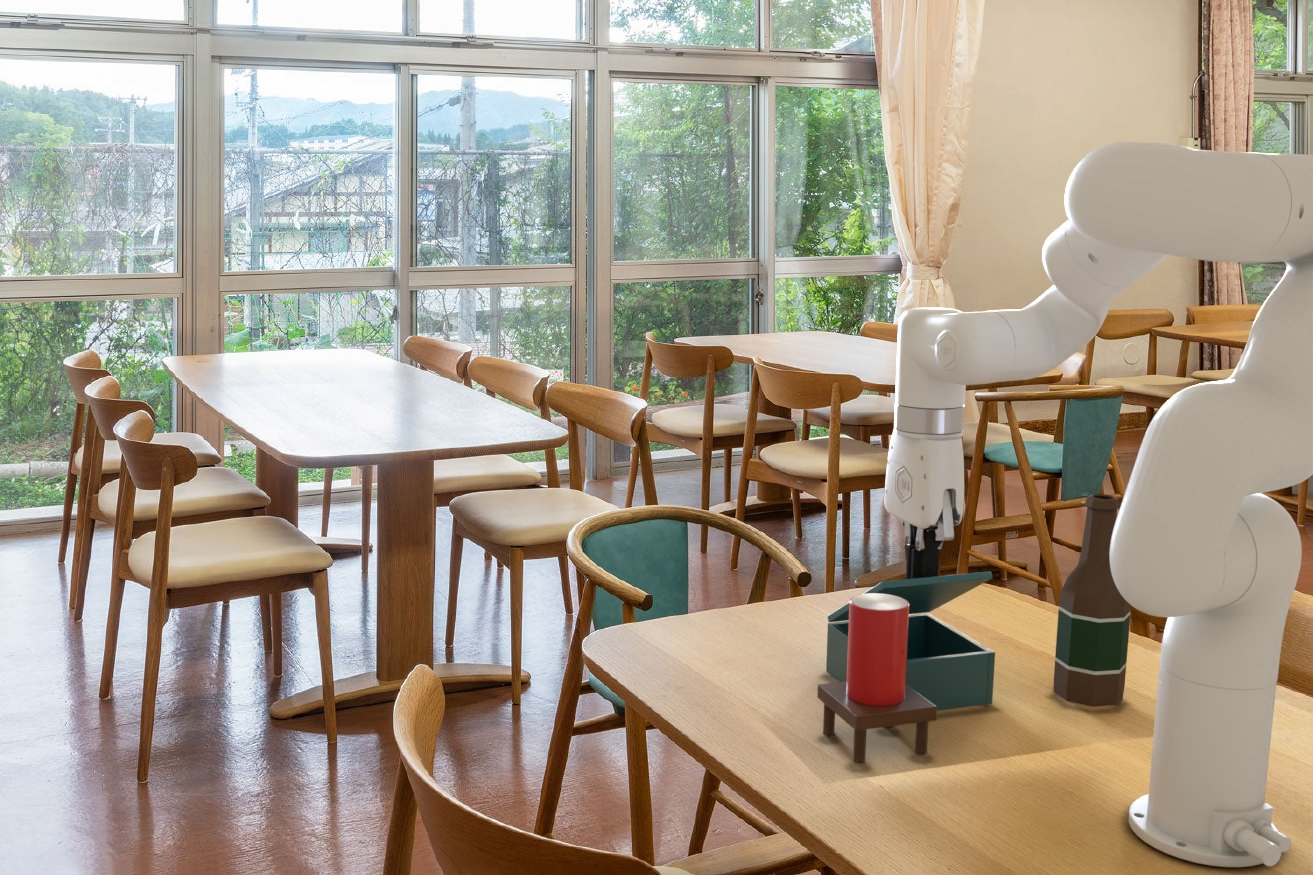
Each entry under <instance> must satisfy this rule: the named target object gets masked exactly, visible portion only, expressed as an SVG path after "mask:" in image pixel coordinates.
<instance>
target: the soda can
mask: <svg viewBox="0 0 1313 875" xmlns="http://www.w3.org/2000/svg"><path fill="white" fill-rule="evenodd" d="M848 603H849V620H848V621H849V628H848V654H847V681H846V694H847V696H848V697H849V698H850V699H852V700H854V701H856V702H859V703H862V704H866V705H873V706H888V705H894V704H898V703H900V702H902V701H903V700H904V698H905V685H906V664H907V643H908V621H909V615H910V614H909V602H908V601H907V600H905V599H903V598H901V597H898V596H894V595H889V594H880V593H868V594H863V593H861V594H857V595H854V596H852V597H850V598H849V602H848Z"/></svg>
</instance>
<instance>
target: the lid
mask: <svg viewBox="0 0 1313 875" xmlns="http://www.w3.org/2000/svg"><path fill="white" fill-rule="evenodd" d="M992 579H993V574H992V571H983V572H982V571H981V572H970V573H961V574H949V575H940V576H939V575H938V576H937V577H926V578H915V579H906V578H904V579H895V580H883V581H881V582H879V583H878V584H876V585H875V586H873V587H872V588H870V589H868V590H867V591H865V592H864V593H862V594H868V593H880V594H889V595H894V596H898V597H901V598H903V599H905V600H907V601H908V602H909V615H912V614H922V613H930V612H931V613H932V612H933V611H934V610H936V609H938V608H940V607H942V606H944V605H946V604H947V603H949V602H951V601H953V600H955V599H957V598H959V597H960V596H962V595H964V594H966V593H969V592H970V591H972V590H974V589H976V588H977V587H979V586H981V585H984V584H985V583H987V582H989V581H990V580H992ZM827 621H828V623H834V622H843V621H849V602H848V603H846V604H844V605H843V606H841V607H839V608H838V609H836V610H835V611H833V612H832V613H830V614H829V615H827Z"/></svg>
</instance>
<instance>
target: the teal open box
mask: <svg viewBox="0 0 1313 875" xmlns="http://www.w3.org/2000/svg"><path fill="white" fill-rule="evenodd" d="M848 628H849V620H847V621H837V622H828V623H827V634H826V636H827V638H826V662H825V663H826V664H825V666H826V667H825V668H826V669H825V671H826V673H828V675H830V676H831V677H833V678H834V679H835V680H836V681H837V682H844V681H847V654H848ZM995 662H996V652H995V651H993V650H992V649H990V648H988V647H987V646H985V645H983V644H982V643H980V642H978V641H977V640H975V639H973V638H971V637H970V636H968V635H966V634H965V633H963V632H962V631H960V630H958V629H957V628H955V627H953V626H951V625H950V624H948V623H946V622H945V621H944V620H942V619H939V618H938V617H937V616H935V615H933V614H931V613H930V612H927V613H917V614H909V621H908V643H907V664H906V685H907V686H909V687H910V688H912V689H913V690H914V691H916V692H917V693H919V694H920V695H921V696H923V697H924V698H926V699H927V700H928V701H930V702H931V703H932V704H934V705H935V706H937V712H938V711H945V710H953V709H960V708H961V709H963V708H969V707H976V706H977V707H978V706H985V705H992V704H993V697H994V696H993V695H994V681H995V680H994V677H995Z"/></svg>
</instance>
